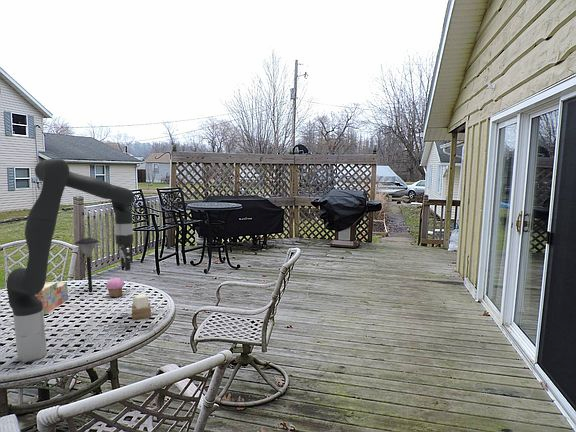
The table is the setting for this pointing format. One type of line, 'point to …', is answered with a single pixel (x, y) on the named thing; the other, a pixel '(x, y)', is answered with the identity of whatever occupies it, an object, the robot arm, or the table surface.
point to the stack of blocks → (52, 295)
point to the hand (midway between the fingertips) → (125, 268)
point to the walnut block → (141, 312)
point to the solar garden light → (88, 255)
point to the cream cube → (141, 301)
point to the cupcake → (115, 287)
